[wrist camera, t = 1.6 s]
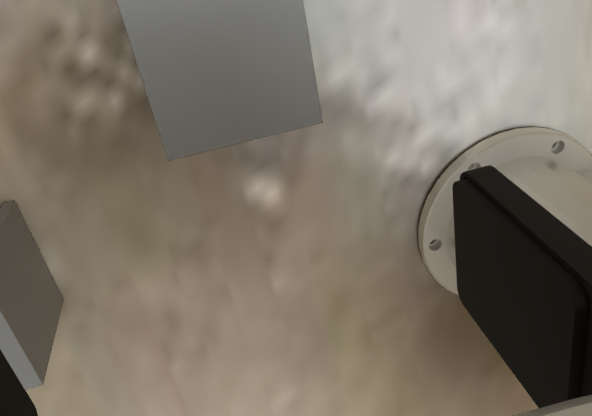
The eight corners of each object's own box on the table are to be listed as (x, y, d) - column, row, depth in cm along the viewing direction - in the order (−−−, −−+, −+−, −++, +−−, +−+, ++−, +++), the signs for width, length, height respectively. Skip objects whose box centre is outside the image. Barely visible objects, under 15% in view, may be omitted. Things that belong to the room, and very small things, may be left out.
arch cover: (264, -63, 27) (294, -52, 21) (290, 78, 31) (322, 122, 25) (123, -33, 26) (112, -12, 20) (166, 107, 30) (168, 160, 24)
